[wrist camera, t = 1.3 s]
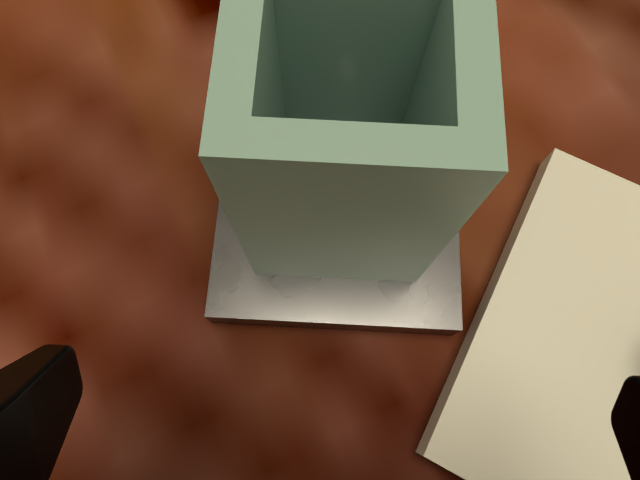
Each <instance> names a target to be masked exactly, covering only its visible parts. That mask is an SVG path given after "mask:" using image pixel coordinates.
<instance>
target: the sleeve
mask: <svg viewBox="0 0 640 480" xmlns="http://www.w3.org/2000/svg"><path fill="white" fill-rule="evenodd" d="M199 158H200V160H201V162H202V164H203V167H204V169H205V171H206V173H207V175H208V177H209V179H210V181H211V183H212V185H213V187H214V189H215V192H216V194H217V196H218V198H219V200H220V202H221V204H222V206H223V208H224V210H225V212H226V214H227V217H228V219H229V221H230V223H231V225H232V227H233V229H234V231H235V233H236V235H237V237H238V239H239V242H240V244H241V246H242V248H243V250H244V252H245V254H246V256H247V258H248V260H249V262H250V264H251V267H252V269H253V271H254V273H255V274H263V275H282V276H301V277H320V278H339V279H359V280H378V281H397V282H416V281H417V280H418V279H419V278H420V277H421V275H422V274H423V273H424V272H425V271H426V269H427V268H428V267H429V266H430V265H431V263H432V262H433V261H434V260H435V259H436V258H437V256H438V255H439V254H440V253H441V252H442V250H443V249H444V248H445V247H446V246H447V244H448V243H449V242H450V241H451V240H452V238H453V237H454V236H455V235H456V234H457V232H458V231H459V230H460V229H461V228H462V226H463V225H464V224H465V223H466V222H467V220H468V219H469V218H470V217H471V216H472V215H473V213H474V212H475V211H476V210H477V209H478V207H479V206H480V205H481V204H482V203H483V201H484V200H485V199H486V198H487V197H488V195H489V194H490V193H491V192H492V191H493V189H494V188H495V187H496V186H497V185H498V183H499V182H500V181H501V180H502V179H503V177H504V176H505V175H506V174H507V173H508V159H507V145H506V131H505V118H504V104H503V90H502V77H501V63H500V49H499V36H498V22H497V8H496V0H221V1H220V8H219V15H218V22H217V29H216V37H215V44H214V51H213V58H212V65H211V72H210V79H209V86H208V93H207V100H206V107H205V114H204V121H203V128H202V135H201V142H200V149H199Z"/></svg>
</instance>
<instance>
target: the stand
mask: <svg viewBox="0 0 640 480" xmlns="http://www.w3.org/2000/svg"><path fill="white" fill-rule="evenodd" d="M205 317H206V318H207V319H208V320H210V321H211V322H212V323H230V324H248V325H267V326H286V327H305V328H324V329H343V330H362V331H381V332H400V333H418V334H437V335H454V334H456V333H458V332H460V331H462V330H463V327H462V300H461V274H460V247H459V231H458V232H457V234H456V235H455V236H454V237H453V238H452V240H451V241H450V242H449V243H448V244H447V246H446V247H445V248H444V249H443V250H442V252H441V253H440V254H439V255H438V256H437V258H436V259H435V260H434V261H433V262H432V263H431V265H430V266H429V267H428V268H427V269H426V271H425V272H424V273H423V274H422V275H421V277H420V278H419V279H418V280H417V281H416V282H397V281H378V280H359V279H339V278H320V277H301V276H282V275H263V274H255V273H254V271H253V269H252V267H251V264H250V262H249V260H248V258H247V256H246V254H245V252H244V250H243V248H242V246H241V244H240V242H239V239H238V237H237V235H236V233H235V231H234V229H233V227H232V225H231V223H230V221H229V219H228V217H227V214H226V212H225V210H224V208H223V206H222V204H221V202H220V200H219V205H218V213H217V221H216V229H215V237H214V245H213V253H212V261H211V269H210V277H209V285H208V293H207V301H206V309H205Z"/></svg>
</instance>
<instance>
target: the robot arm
mask: <svg viewBox="0 0 640 480" xmlns="http://www.w3.org/2000/svg"><path fill="white" fill-rule="evenodd" d="M82 390H83V384H82V379H81V374H80V370H79V366H78V361H77V357H76V353H75V350H74V349H73V348H72V347H71V346H69V345H55V344H48V345H43V346H41V347H39V348H38V349H36V350H34V351H32V352H31V353H29V354H27V355H25V356H23V357H22V358H20V359H18V360H16V361H14V362H13V363H11V364H9V365H7V366H5V367H4V368H2V369H0V480H49V478H50V475H51V473H52V470H53V468H54V465H55V463H56V460H57V458H58V455H59V453H60V450H61V447H62V445H63V442H64V440H65V437H66V435H67V432H68V430H69V427H70V425H71V422H72V419H73V417H74V414H75V412H76V409H77V407H78V404H79V402H80V399H81V396H82ZM611 425H612V429H613V431H614V434H615V437H616V440H617V442H618V445H619V448H620V451H621V453H622V456H623V459H624V462H625V464H626V467H627V470H628V473H629V475H630V478H631V480H640V376H639V375H632V376H629V377H628V378H627V379H625V381H624V383H623V385H622V388H621V390H620V392H619V395H618V397H617V399H616V402H615V404H614V407H613V409H612V412H611Z"/></svg>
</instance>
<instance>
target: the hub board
mask: <svg viewBox="0 0 640 480" xmlns="http://www.w3.org/2000/svg"><path fill="white" fill-rule="evenodd" d="M632 375H639V376H640V186H639V185H637V184H635V183H632V182H630V181H628V180H626V179H623V178H621V177H619V176H617V175H614V174H612V173H610V172H608V171H605V170H603V169H601V168H599V167H596V166H594V165H592V164H590V163H587V162H585V161H583V160H581V159H578V158H576V157H574V156H572V155H569V154H567V153H565V152H563V151H560V150H558V149H556V148H555V149H554V150H553V151H552V152H551V153H550V154H549V155H548V156H547V157H546V158H545V159H544V161H543V162H542V163H541V164H540V166H539V168H538V170H537V173H536V175H535V177H534V180H533V182H532V184H531V187H530V189H529V191H528V194H527V196H526V198H525V200H524V203H523V205H522V207H521V210H520V212H519V214H518V217H517V219H516V221H515V223H514V226H513V228H512V230H511V233H510V235H509V237H508V240H507V242H506V244H505V247H504V249H503V251H502V253H501V256H500V258H499V260H498V263H497V265H496V267H495V270H494V272H493V274H492V276H491V279H490V281H489V283H488V286H487V288H486V290H485V293H484V295H483V297H482V300H481V302H480V304H479V306H478V309H477V311H476V313H475V316H474V318H473V320H472V323H471V325H470V327H469V329H468V332H467V334H466V336H465V339H464V341H463V343H462V346H461V348H460V350H459V353H458V355H457V357H456V359H455V362H454V364H453V366H452V369H451V371H450V373H449V376H448V378H447V380H446V382H445V385H444V387H443V389H442V392H441V394H440V396H439V399H438V401H437V403H436V406H435V408H434V410H433V412H432V415H431V417H430V419H429V422H428V424H427V426H426V429H425V431H424V433H423V435H422V438H421V440H420V442H419V445H418V447H417V449H416V453H418V454H420V455H422V456H423V457H425V458H427V459H429V460H431V461H432V462H434V463H436V464H438V465H440V466H441V467H443V468H445V469H447V470H449V471H450V472H452V473H454V474H456V475H457V476H459V477H461V478H463V479H465V480H631V478H630V475H629V473H628V470H627V467H626V464H625V462H624V459H623V456H622V453H621V451H620V448H619V445H618V442H617V440H616V437H615V434H614V431H613V429H612V425H611V412H612V409H613V407H614V404H615V402H616V399H617V397H618V395H619V392H620V390H621V388H622V385H623V383H624V381H625V379H627V378H628V377H629V376H632Z"/></svg>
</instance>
